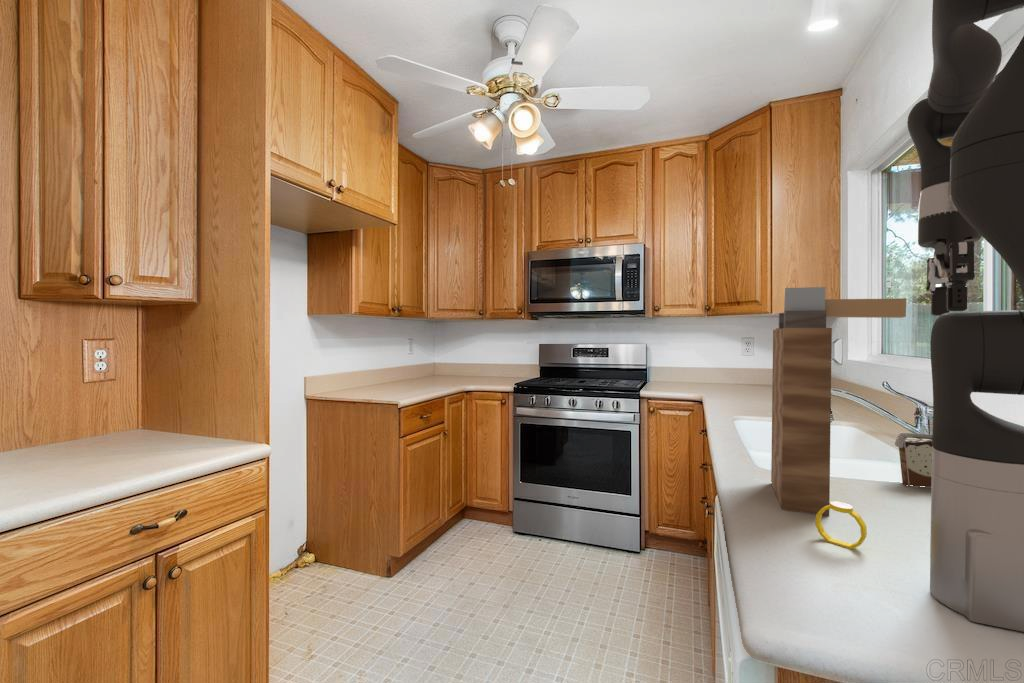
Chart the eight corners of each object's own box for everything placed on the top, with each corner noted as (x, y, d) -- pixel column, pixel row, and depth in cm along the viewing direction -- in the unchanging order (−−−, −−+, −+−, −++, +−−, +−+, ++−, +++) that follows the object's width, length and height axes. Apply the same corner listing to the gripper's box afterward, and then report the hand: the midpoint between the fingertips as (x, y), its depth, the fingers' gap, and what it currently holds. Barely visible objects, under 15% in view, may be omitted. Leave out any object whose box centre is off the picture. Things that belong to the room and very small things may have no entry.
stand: (829, 516, 77) (832, 310, 77) (781, 509, 80) (784, 310, 79) (810, 488, 91) (813, 314, 91) (771, 483, 94) (773, 315, 94)
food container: (940, 479, 98) (941, 433, 98) (966, 489, 91) (967, 440, 91) (879, 477, 99) (880, 432, 99) (900, 486, 93) (901, 438, 93)
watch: (866, 550, 65) (870, 510, 64) (860, 556, 63) (865, 515, 63) (818, 533, 70) (822, 495, 69) (811, 538, 68) (815, 499, 67)
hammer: (907, 328, 72) (909, 285, 72) (783, 327, 81) (785, 288, 81) (899, 329, 77) (900, 288, 77) (783, 327, 86) (784, 291, 86)
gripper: (999, 198, 66) (998, 309, 66) (965, 223, 78) (964, 316, 78) (930, 205, 70) (929, 310, 70) (908, 227, 82) (907, 316, 82)
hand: (947, 313), depth 74 cm, fingers open, 8 cm apart
